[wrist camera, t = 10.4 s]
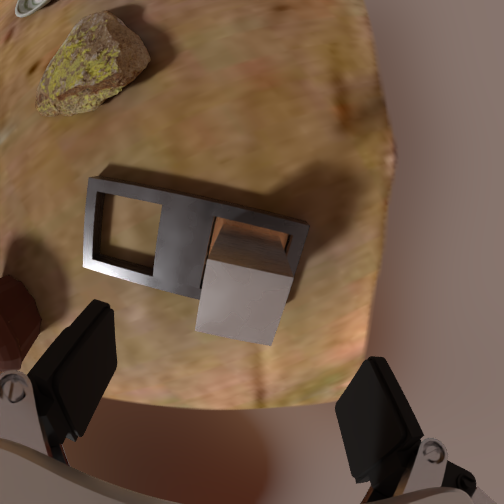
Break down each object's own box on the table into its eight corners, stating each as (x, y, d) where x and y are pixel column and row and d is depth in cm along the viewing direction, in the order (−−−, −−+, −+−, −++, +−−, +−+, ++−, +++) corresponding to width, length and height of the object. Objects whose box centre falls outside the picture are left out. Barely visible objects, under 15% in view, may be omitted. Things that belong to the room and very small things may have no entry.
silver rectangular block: (223, 223, 21) (207, 258, 14) (279, 236, 22) (293, 277, 14) (212, 275, 23) (194, 330, 15) (265, 287, 23) (271, 345, 15)
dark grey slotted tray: (97, 176, 20) (88, 177, 19) (306, 221, 21) (309, 225, 20) (91, 261, 22) (83, 266, 21) (278, 308, 24) (280, 317, 22)
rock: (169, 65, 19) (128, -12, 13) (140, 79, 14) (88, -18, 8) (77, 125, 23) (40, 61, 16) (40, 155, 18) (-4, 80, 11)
